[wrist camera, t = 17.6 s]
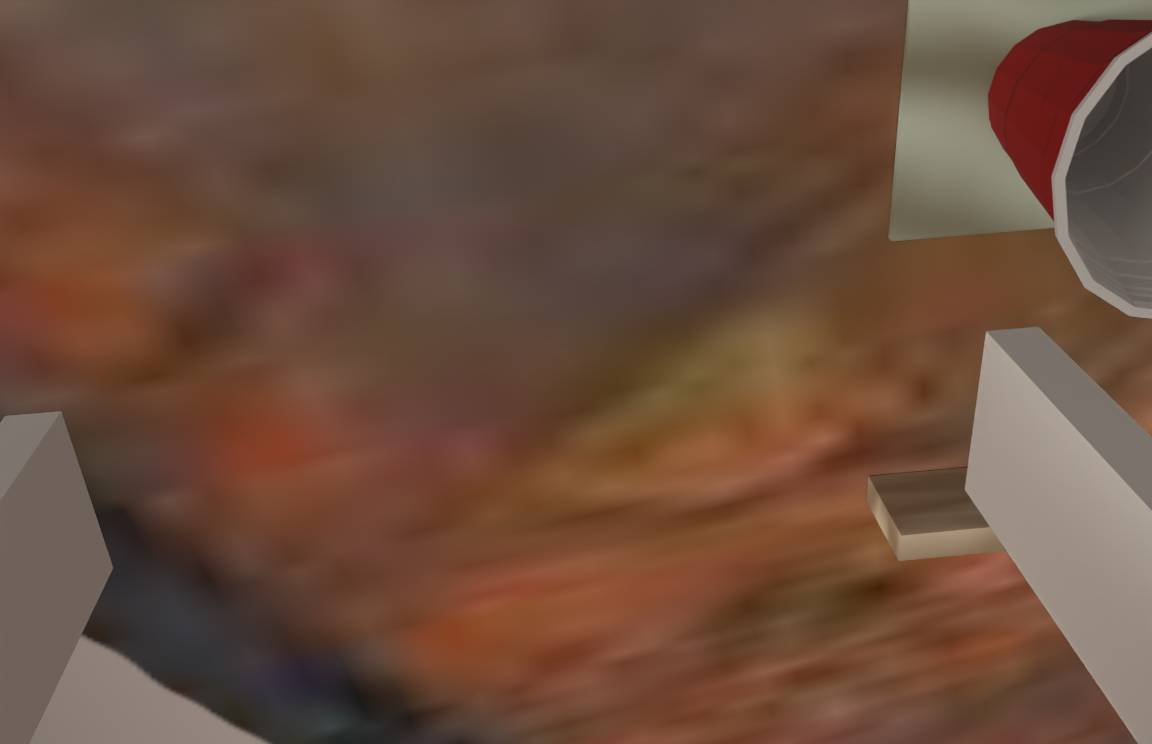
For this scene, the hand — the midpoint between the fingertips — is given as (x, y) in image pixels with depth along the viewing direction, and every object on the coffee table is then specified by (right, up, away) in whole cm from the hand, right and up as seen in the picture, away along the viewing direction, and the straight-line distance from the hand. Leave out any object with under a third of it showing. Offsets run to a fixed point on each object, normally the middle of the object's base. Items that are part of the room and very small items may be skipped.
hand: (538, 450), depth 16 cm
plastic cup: (+21, +13, +30) cm, 39 cm away
